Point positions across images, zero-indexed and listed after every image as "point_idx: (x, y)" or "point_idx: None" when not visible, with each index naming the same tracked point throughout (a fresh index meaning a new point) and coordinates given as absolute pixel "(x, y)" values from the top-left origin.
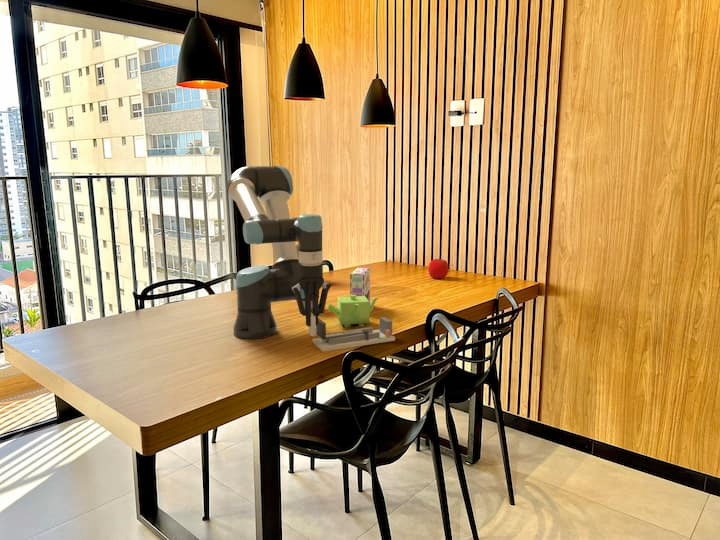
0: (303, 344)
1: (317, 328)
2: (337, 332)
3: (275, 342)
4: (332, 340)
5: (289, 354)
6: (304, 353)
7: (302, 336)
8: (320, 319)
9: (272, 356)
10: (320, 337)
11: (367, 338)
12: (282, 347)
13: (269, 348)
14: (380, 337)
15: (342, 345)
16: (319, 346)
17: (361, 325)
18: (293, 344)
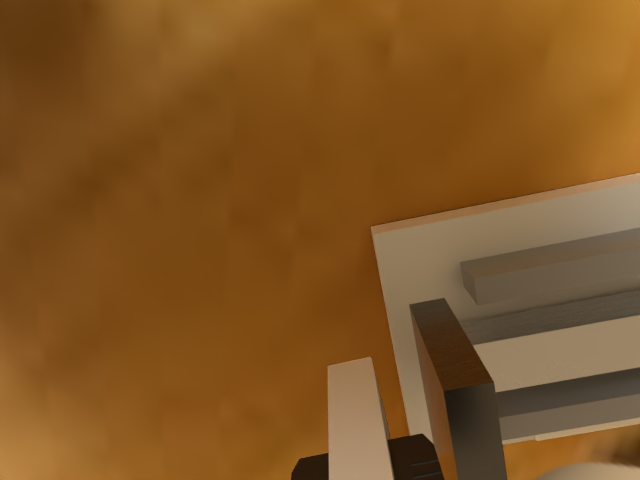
0: (288, 258)
1: (428, 374)
2: (629, 263)
3: (49, 152)
4: (518, 431)
5: (172, 439)
6: (277, 443)
7: (299, 28)
8: (497, 425)
9: (56, 450)
10: (427, 409)
11: None
12: (117, 290)
13: (15, 290)
14: None
15: (576, 430)
16: (401, 388)
17: None
18: (205, 239)
